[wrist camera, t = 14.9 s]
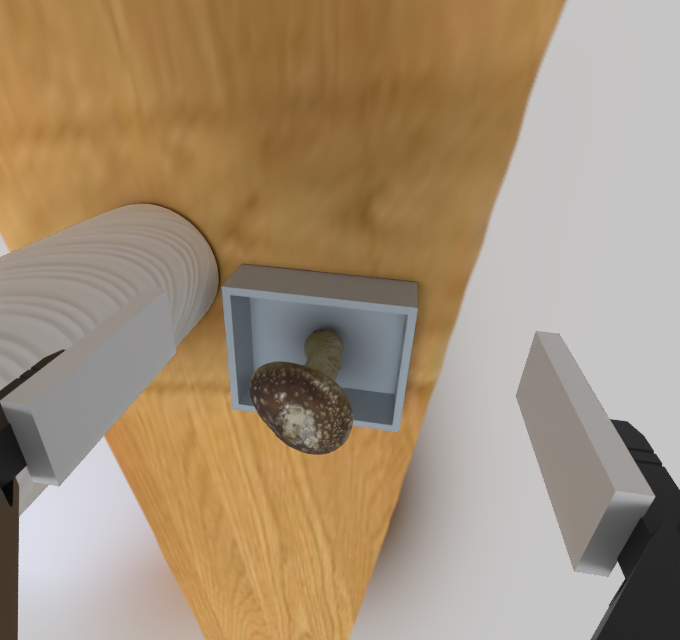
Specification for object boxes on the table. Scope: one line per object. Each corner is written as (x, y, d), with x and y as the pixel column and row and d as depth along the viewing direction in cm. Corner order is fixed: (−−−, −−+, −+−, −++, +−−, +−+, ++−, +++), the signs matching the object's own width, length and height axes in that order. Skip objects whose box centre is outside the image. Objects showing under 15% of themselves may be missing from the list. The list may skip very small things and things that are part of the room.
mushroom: (379, 359, 49) (367, 458, 36) (312, 379, 52) (278, 478, 39) (344, 287, 46) (317, 369, 33) (274, 313, 48) (223, 398, 35)
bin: (242, 263, 47) (221, 286, 42) (417, 281, 45) (418, 308, 40) (249, 377, 54) (232, 408, 49) (400, 397, 52) (398, 432, 47)
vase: (196, 188, 44) (-172, 366, 16) (239, 314, 50) (28, 597, 22) (76, 212, 47) (-402, 395, 19) (131, 328, 53) (-170, 590, 26)
